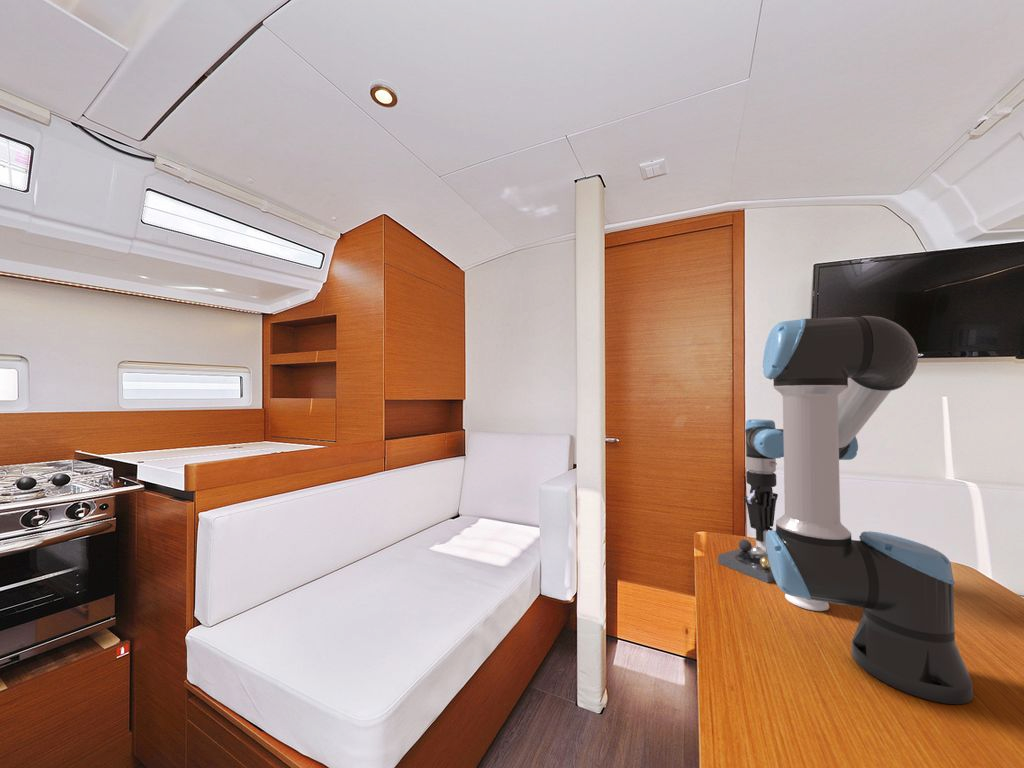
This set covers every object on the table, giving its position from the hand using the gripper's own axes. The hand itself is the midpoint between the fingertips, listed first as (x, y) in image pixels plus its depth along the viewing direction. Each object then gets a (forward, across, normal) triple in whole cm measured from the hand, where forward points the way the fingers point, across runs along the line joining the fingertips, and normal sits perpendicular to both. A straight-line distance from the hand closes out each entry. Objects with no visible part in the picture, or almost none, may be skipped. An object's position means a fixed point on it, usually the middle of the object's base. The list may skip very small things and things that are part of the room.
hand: (762, 551), depth 114 cm
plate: (+4, -2, 0) cm, 5 cm away
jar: (+4, -12, -17) cm, 21 cm away
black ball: (0, 0, +5) cm, 5 cm away
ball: (0, -2, 0) cm, 2 cm away
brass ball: (0, -7, -5) cm, 9 cm away
